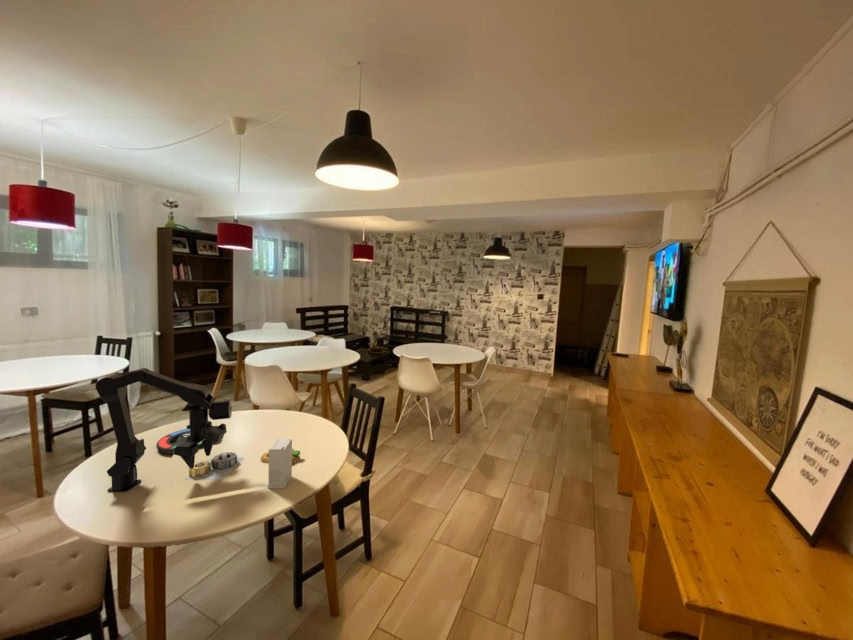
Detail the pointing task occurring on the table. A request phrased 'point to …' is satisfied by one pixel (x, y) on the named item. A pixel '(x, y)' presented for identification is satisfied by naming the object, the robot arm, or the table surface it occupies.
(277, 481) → the skincare box
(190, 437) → the robot arm
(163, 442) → the electronic game
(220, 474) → the gear board
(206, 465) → the brass gear
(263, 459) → the toy food set
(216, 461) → the gear
